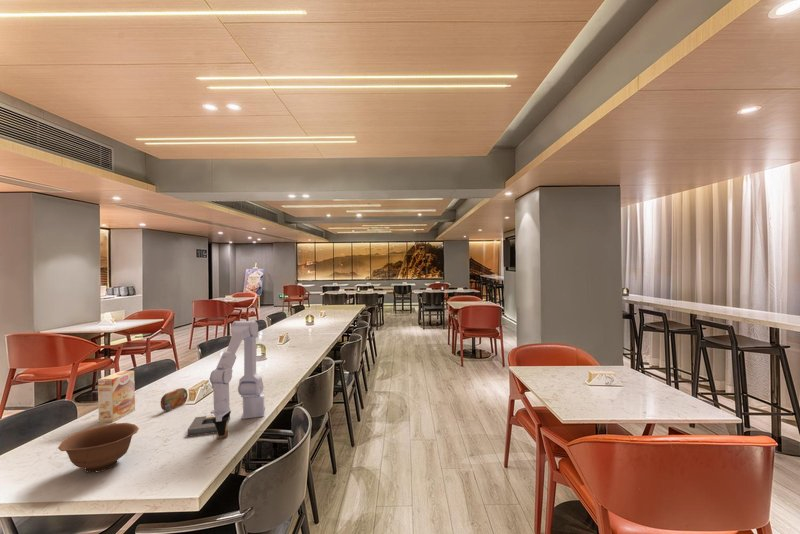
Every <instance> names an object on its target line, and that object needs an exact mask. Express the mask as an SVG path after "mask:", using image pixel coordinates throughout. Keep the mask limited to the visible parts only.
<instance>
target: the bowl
mask: <svg viewBox="0 0 800 534" xmlns="http://www.w3.org/2000/svg"><path fill="white" fill-rule="evenodd" d="M114 423H115V424H112V423H109V424H104V425H99V426H95V427H91V428H88V429H87V428H86V429H84V430H81V431H79V432H76V433H74V434H71V435H70V436H68V437H66V438H65V439H63V440H62V441H61V443H60V445H59V446H58V447H57V449H58V450H59V451H60V452H66V454H67V457H68V458H69V461H70V462H71V463H72V464H73V465H74V466H75V467H77V468H82V469H84V471H85V470H86V471H88V472H87V473H89V472H94V473H97V472H96V471H100V472H102V470H103V471H106V470H109V469H111V468H112V467H113V468H114V466H116V464H118V461H119V460H120V459H121V458H123V456H125V455H126V454H127V452H128V451H129V447H130V446H131V441H132V438H133V435H136V434H137V433H138V431H139V430H140V428H139V427H138V426H137V425H136V424H135V423H129V422H119V423H118V422H117V423H116V422H114ZM85 468H86V469H85ZM86 471H85V472H86Z"/></svg>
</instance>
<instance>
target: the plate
mask: <svg viewBox="0 0 800 534" xmlns="http://www.w3.org/2000/svg"><path fill="white" fill-rule="evenodd" d="M213 418H216V416H215V415H214V414H211V415H204V416H195V417H194V419H193V421H192V422H191V424H190V426H189V427H188V428H187V437H191V436H190V435H192V436H198V434H199V435H206V434H205V433H207V434H213V432H214V433H217V429H216V426H215V424H214V423H213ZM230 420H231V414H230V415H229V419H228V424H229V422H230Z"/></svg>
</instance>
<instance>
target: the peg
mask: <svg viewBox="0 0 800 534" xmlns="http://www.w3.org/2000/svg"><path fill="white" fill-rule="evenodd" d="M228 437H229V423H228V421H227V423H226V429H225V434H224V435H223V436H219V435H218V432H216V439H217V438H218V439H217V440H224V438H225V439H227V438H228Z"/></svg>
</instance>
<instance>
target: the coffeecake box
mask: <svg viewBox="0 0 800 534" xmlns="http://www.w3.org/2000/svg"><path fill="white" fill-rule="evenodd" d="M135 385H136V384H135V370H120V371H118V372H114V373H112V374H110V375H109V374H108V375H106V376H103V377H101V378H98V379H97V396H98V404H97V405H98V423H115V422H116V421H118V420H119V418H120V419H121V418H123V417H124V416H127V415H129V414H130V412H131V413H133V412H134V411H136V396H135V394H136V393H135V392H136V389H135V387H136V386H135ZM133 410H134V411H133ZM128 413H129V414H128ZM126 414H127V415H126Z"/></svg>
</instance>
